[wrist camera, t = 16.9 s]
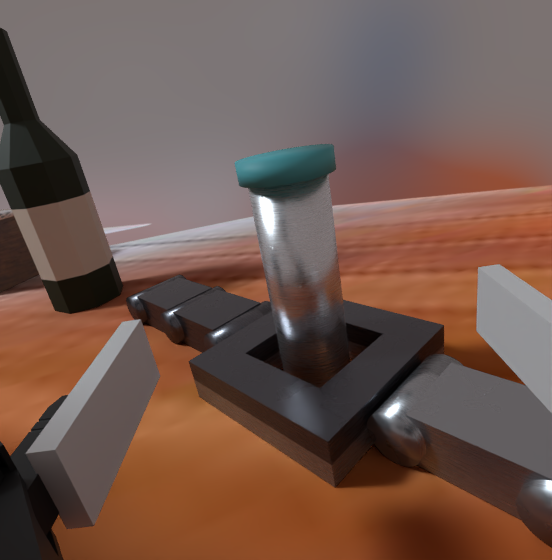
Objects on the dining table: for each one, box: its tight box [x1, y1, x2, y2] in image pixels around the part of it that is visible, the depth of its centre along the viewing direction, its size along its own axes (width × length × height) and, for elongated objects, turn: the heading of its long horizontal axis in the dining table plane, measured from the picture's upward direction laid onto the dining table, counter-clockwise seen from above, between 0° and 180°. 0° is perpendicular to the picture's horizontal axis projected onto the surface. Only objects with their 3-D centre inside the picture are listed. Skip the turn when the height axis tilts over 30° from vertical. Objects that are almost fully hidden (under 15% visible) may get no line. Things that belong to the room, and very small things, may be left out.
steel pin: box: [235, 144, 350, 388], centre depth 25 cm, size 5×5×15 cm
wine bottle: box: [0, 28, 123, 314], centre depth 45 cm, size 8×8×30 cm
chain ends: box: [126, 275, 552, 547], centre depth 27 cm, size 12×46×3 cm, turn 45°
